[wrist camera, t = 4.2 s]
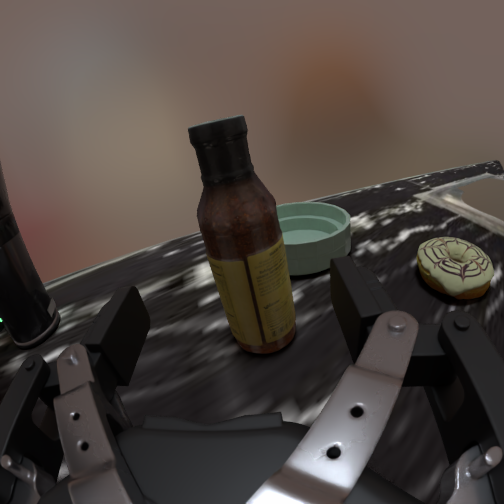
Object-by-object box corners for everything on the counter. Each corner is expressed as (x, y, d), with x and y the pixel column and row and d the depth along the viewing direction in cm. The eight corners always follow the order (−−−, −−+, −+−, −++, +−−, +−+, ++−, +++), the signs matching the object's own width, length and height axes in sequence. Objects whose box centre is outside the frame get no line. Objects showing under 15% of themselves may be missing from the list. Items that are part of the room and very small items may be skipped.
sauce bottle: (293, 310, 30) (267, 111, 20) (300, 353, 24) (272, 109, 15) (232, 318, 30) (187, 126, 21) (229, 361, 24) (165, 130, 15)
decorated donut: (453, 317, 23) (462, 288, 21) (399, 269, 32) (402, 242, 31) (501, 287, 24) (509, 260, 22) (450, 250, 33) (453, 226, 32)
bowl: (249, 287, 35) (242, 252, 32) (249, 237, 48) (244, 209, 46) (365, 269, 34) (366, 233, 31) (334, 225, 47) (333, 197, 45)
